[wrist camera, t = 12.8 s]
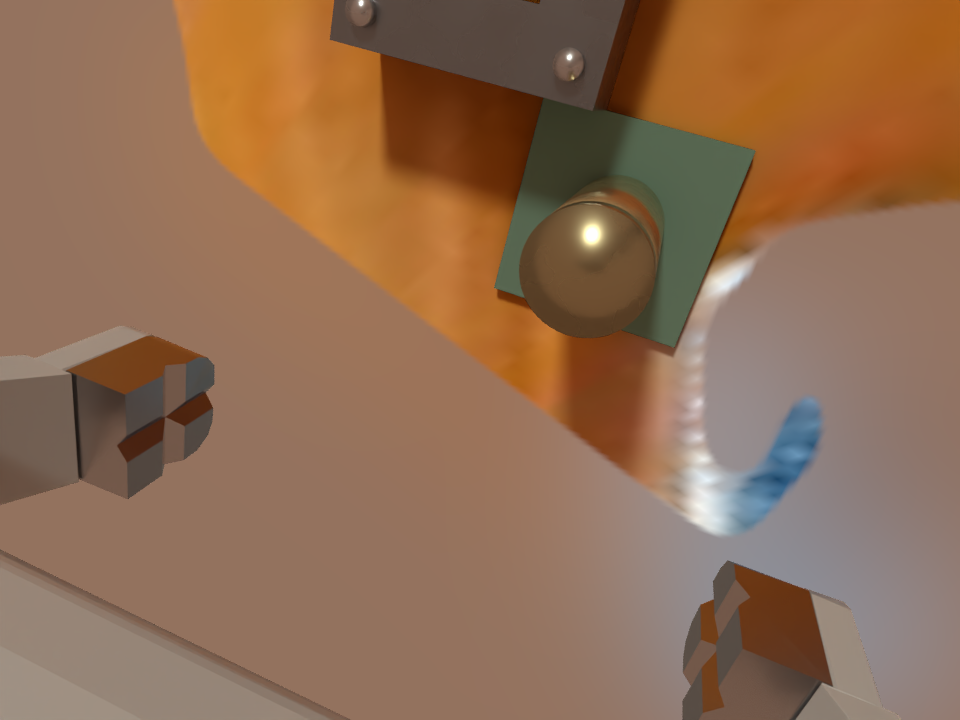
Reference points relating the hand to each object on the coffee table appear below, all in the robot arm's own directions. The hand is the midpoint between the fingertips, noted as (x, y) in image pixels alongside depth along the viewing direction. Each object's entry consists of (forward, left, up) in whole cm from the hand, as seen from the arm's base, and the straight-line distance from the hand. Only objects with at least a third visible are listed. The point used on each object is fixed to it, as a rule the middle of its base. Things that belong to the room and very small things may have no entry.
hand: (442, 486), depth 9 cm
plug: (0, 0, -24) cm, 24 cm away
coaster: (0, 0, -25) cm, 25 cm away
